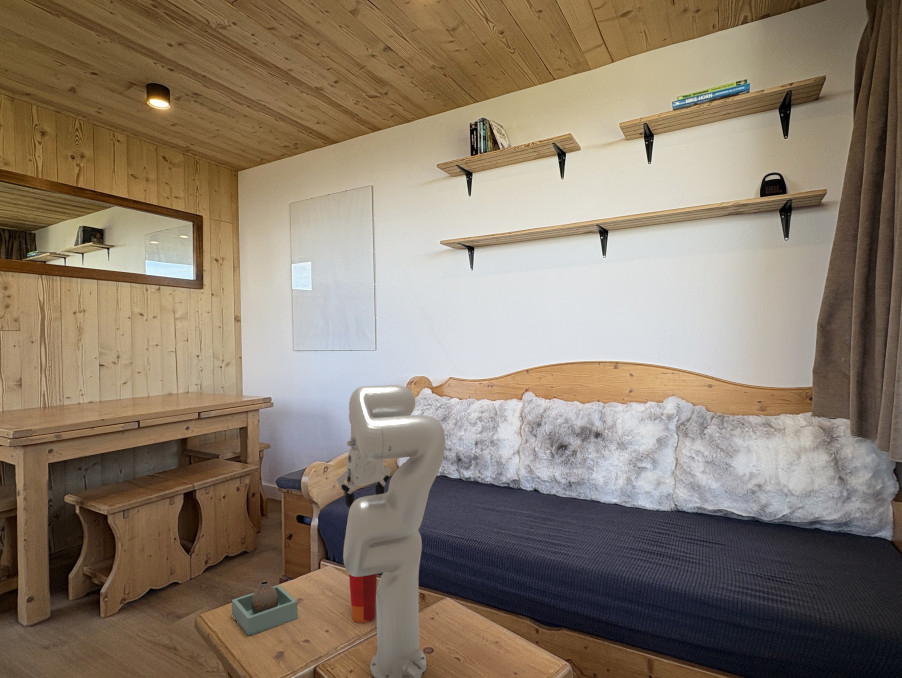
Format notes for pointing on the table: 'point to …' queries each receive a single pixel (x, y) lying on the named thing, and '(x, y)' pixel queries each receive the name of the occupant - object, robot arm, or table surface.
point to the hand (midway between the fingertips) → (365, 503)
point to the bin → (264, 613)
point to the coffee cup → (363, 597)
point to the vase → (264, 598)
